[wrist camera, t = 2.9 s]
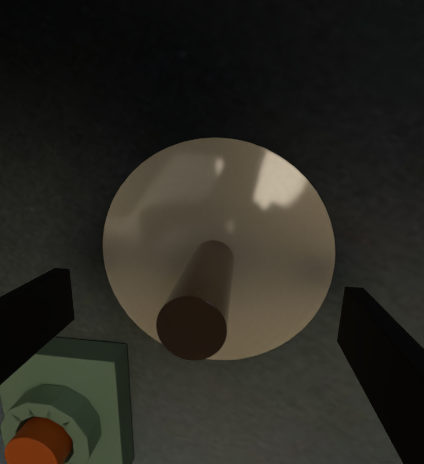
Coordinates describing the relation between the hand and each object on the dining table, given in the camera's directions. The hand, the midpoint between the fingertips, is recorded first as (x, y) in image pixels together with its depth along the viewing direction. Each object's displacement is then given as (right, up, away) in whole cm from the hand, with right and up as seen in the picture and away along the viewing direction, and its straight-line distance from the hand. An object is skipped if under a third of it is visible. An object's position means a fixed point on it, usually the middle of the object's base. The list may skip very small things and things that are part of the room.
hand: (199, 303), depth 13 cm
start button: (-12, -12, +8) cm, 18 cm away
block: (-11, -11, +11) cm, 19 cm away
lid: (+1, +2, +6) cm, 6 cm away
